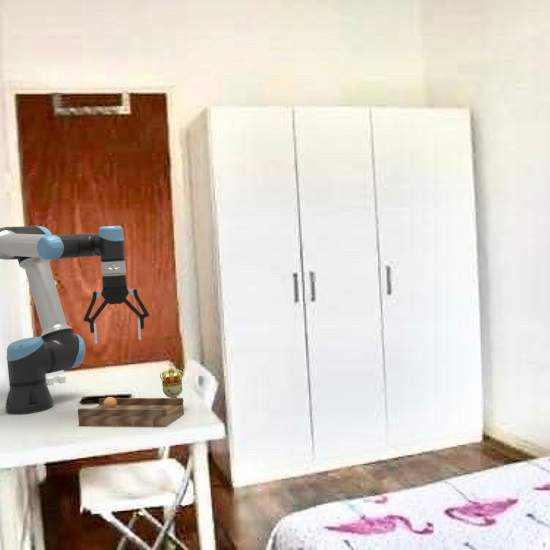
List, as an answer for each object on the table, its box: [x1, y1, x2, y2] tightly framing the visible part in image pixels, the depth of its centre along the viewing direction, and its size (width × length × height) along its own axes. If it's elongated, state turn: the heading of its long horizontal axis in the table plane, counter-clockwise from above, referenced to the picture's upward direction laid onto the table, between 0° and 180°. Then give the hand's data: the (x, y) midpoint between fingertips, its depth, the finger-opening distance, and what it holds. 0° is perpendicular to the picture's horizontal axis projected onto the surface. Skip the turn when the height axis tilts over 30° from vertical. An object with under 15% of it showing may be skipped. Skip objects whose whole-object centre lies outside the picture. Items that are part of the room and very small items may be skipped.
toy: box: [159, 362, 184, 403], centre depth 219 cm, size 7×7×15 cm
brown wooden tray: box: [77, 397, 185, 428], centre depth 210 cm, size 28×14×5 cm, turn 76°
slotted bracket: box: [45, 370, 67, 386], centre depth 279 cm, size 13×7×8 cm, turn 24°
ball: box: [103, 396, 117, 409], centre depth 211 cm, size 4×4×4 cm
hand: (118, 341), depth 220 cm, fingers open, 13 cm apart
